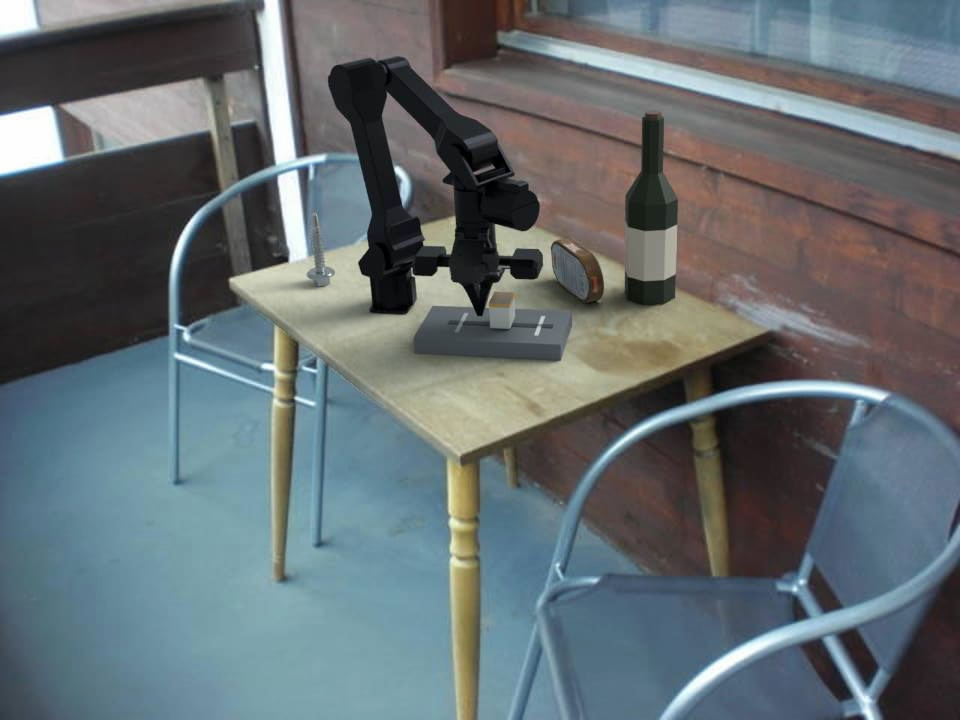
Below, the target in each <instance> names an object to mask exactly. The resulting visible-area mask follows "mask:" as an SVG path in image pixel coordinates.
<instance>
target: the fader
mask: <svg viewBox="0 0 960 720" xmlns="http://www.w3.org/2000/svg"><path fill="white" fill-rule="evenodd" d="M515 294H516V293H515V291H494V292H493V294H492V296H491V298H490V299H489V302H488V308H489V314H490V328H504V329H510V328H511V325H512V323H513V321H514V318H515V309H516V304H515V303H516V301H515V297H516V295H515Z"/></svg>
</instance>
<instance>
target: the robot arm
mask: <svg viewBox="0 0 960 720" xmlns="http://www.w3.org/2000/svg"><path fill="white" fill-rule="evenodd" d="M327 85H328V89H329V91H330V94H331V95H330V96H331V97H332V100H333V103H334V106H335V109H336V110H337V111H338V112H339V113H340V114H341V115H342V116H343V117H344V118H345V119H346V120H347V122H349V124H350V128H351V131H352V136H353V139H354V141H353V142H354V145H355V148H356V153H357V157H358V161H359V165H360V169H361V174H362V178H363V182H364V186H365V189H366V194H367V195H366V196H367V198H368V202H369V203H368V204H369V207H370V210H371V217H370V221H369V223H368V227H367V231H366V236H367V237H366V238H367V246H368V249H367V250H366V251H365V252H364V254H363V255H362V256H361V258H360V259H359V260H358V261H357V264H358V268H359V272H360V274H361V276H364V277H368V278H369V283H370V284H369V285H370V293H371V294H370V296H371V305H370V307H369V308H368V310H369V312H370V313H387V314H388V313H389V314H391V313H392V314H408V313H409V311H410V310H411V309H412V307H413V306H414V305H415V303H416V302H417V299H418V296H417V285H416V284H417V283H416V277H433V276H434V275H435V274H436V273H437V272H438V270H439V269H438V268H449V274H450V280H451V281H452V283H456V284H457V283H458V284H459V285H461V287H463V289H464V290H465V293H466V295H467V297H468V299H469V301H470V303H471V306H472V307H473V308H474V310H475V312H476V314H477V316H483V314H484V311H485V308H487V304H488V300H489V296H490V293H491V290H492V287H493V285H494V284H497V283H499V282H500V281H501V279H502V277H503V276H504V273H505V272H506V270H509V275H511V277H513V278H514V279H515V280H531V281H533V280H537V279H538V278H539V276H540V273H541V271H542V269H543V266H544V255H543V252H542V251H541V250H540V249H539V248H517V247H516V248H515V250H514V251H513V254H512V255H500V254H499V251H498V247H497V246H498V245H497V238H496V237H497V236H496V235H497V234H496V225H497V226H501V227H505V228H508V229H511V230H515V231H519V232H527V231H529V230H530V229H532V228H533V227H534V225H535V224H536V222H537V220H538V218H539V215H540V207H541V206H540V205H541V203H540V201H539V199H538V197H537V195H536V193H534V191H533V190H532V191H531V190H530V188H529V187H530V186H529V182H528V181H526V180H515V179H512V177H514V176H515V174H516V173H515V170H514V168H513V167H512V166H511V162H510V160H509V159H508V158H507V156H506V155H505V152H504V150H503V149H502V147H501V145H500V142H499V139H498V138H497V136H496V134H495V133H494V132H493V131H492V129H491V128H488V127H487V126H486V125H484V124H483V123H482V122H480V121H478V119H475V118H472V117H469V116H465V115H463V114H461V113H459V112H458V111H456V110H455V109H454V107H452V106H451V105H450V104H449V103H448V102H447V101H445V100H444V99H443V97H442V96H441V95H440V94H438V93H437V91H436V90H435V89H433V87H431V86H430V85H429V84H428V83H427V82H426V81H425V80H424V79H423V78H422V77H421V76H420V75H419V74H418V73H417V72H416V71H415V70H414V69H413V68H412V66H411V64H410V62H409V60H408V59H407V58H406V57H404V56H401V55H396V56H395V55H394V56H391V57H386V58H383V59H379V60H375V59H373V58H371V57H364V58H360V59H355V60H351V61H346V62H343V63H340V64H339V63H338V64H336V65H334V66H332V68H331V70H330V73H329V75H327ZM388 94H389V96H391V98H393V99H394V101H396V103H397V104H398V105H400V106H401V107H402V109H404V111H405V112H407V113H408V115H410V117H411V118H412V119H414V120H415V121H416V123H418V124H419V125H420V127H422V128H423V129H424V131H426V132H427V133H428V134H429V135H430V137H431V138H432V140H433V141H434V147H435V152H436V154H437V156H438V157H439V158H440V160H441V161H442V162H443V163H444V165H445V166H446V167H447V169H448V170H449V173H448V174H447V175H445V176H444V177H443V178H442V183H443V184H446V185H449V186H453V201H454V217H455V228H454V240H453V245H452V249H451V252H450V254H449V253H447V249H446V246H445V245H444V246H443V245H442V246H441V245H424V241H426V239H425V236H424V234H423V231H422V225H421V220H420V218H419V217H418V216H417V215H415V216H412V215H411V214H410V213H409V212H408V211H407V210H406V209H405V207H404V205H403V202H402V201H403V200H402V198H401V197H402V196H401V193H400V189H399V185H398V179H397V176H396V171H395V167H394V164H393V159H392V154H391V150H390V146H389V142H388V141H389V140H388V138H387V132H386V128H385V125H384V120H383V113H384V109H385V106H386V103H387V98H388ZM492 166H493V167H494V168H491V169H489V170H486V171H483V172H481V173H476V172H478V171H481V170H485V169H487V168H489V167H492ZM415 276H416V277H415Z"/></svg>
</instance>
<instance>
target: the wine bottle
mask: <svg viewBox="0 0 960 720" xmlns="http://www.w3.org/2000/svg"><path fill="white" fill-rule="evenodd" d="M664 132H665V117H664V116H663V115H662V112H661V110H655V109H654V110H652V109H651V110H647V111H645V112H644V116H642V117H641V155H640V156H641V159H640V166H641V167H640V169H641V170H640V172H639V173H638V175H637V176H636V178H635V179H634V181H633V183H632V184H631V186H630V187H629V189H628V190H627V192H626V193H625V196H624V197H625V203H624V204H625V206H624V208H625V210H624V212H625V213H624V214H625V215H624V216H625V217H624V222H625V224H624V228H625V229H624V296H625V298H626V301H627V302H631V303H635V304H637V305H641V306H655V305H657V304H659V305H665V304H667V303H669V302H670V301H672V300H674V299H676V281H677V280H676V279H677V276H676V275H677V248H678V247H677V246H678V245H677V243H678V214H679V213H678V211H679V210H678V209H679V206H678V205H679V197H678V196H677V194H676V193H675V191H674V189H673V188H672V185H671V184H670V182H669V180H668V178H667V177H666V175H665V173H664V145H665V144H664V143H665V142H664V138H665V137H664V136H665V134H664ZM673 298H674V299H673ZM671 299H672V300H671ZM668 301H669V302H668Z"/></svg>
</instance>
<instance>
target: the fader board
mask: <svg viewBox="0 0 960 720" xmlns="http://www.w3.org/2000/svg"><path fill="white" fill-rule="evenodd" d="M572 316H573V314H572V310H554V309H553V310H551V309H549V310H548V309H530V308H529V309H527V308H525V309H524V308H515V318H514V321H513V323H512V325H511V328H510V329H504V328H490V314H489V307H485V311H484V314H483V316H477V314H476V312H475V310H474V308H473V306H451V305H450V306H449V305H431V308H430V309H429V311H428V312H427V314H426V316H425V317H424V319H423V320H422V321H423V322H422V323H421V324H420V326H419V328H418V330H417V331H416V333H415V335H414V336H413V338H412V339H413V351H414V354H421V355H423V354H425V355H444V356H445V355H446V356H464V357H465V356H466V357H488V358H490V357H491V358H510V359H527V360H528V359H529V360H530V359H531V360H548V361H550V360H552V361H562V358H563V355H564V352H565V349H566V345H567V341H568V340H569V336H570V333H571V329H572V327H573V324H572V322H573V321H572V320H573V318H572Z"/></svg>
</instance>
